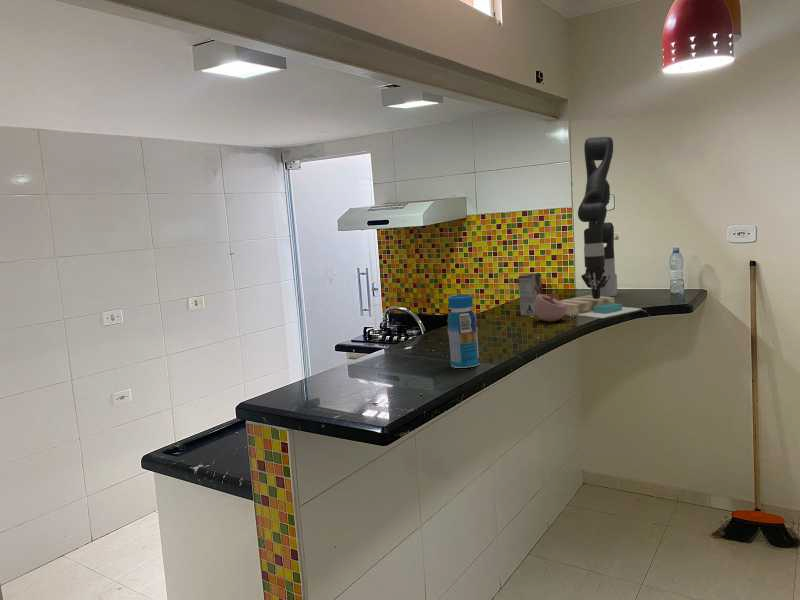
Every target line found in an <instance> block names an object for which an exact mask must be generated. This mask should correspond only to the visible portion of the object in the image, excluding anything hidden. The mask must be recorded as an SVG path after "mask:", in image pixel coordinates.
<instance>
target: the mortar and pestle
mask: <svg viewBox="0 0 800 600" xmlns="http://www.w3.org/2000/svg"><path fill="white" fill-rule="evenodd" d="M555 296H556V291H555V290H552V292H551V295H550V296H549V295H546V294H543V293H542V294H538V295H537V297H536V298H535V301H534V310H535V313H536V315H535V316H537V317H538V318H539V319H540V320H542V321H544V322H547V323H548V322H550V323H551V322H557V321H558V320H560V319H562V317H564V315H566V314H565V312H566V309H567V305H566V304H564V303H562V302H560V301H561V300H558V299H556V298H555Z"/></svg>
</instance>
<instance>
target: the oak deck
mask: <svg viewBox="0 0 800 600" xmlns="http://www.w3.org/2000/svg"><path fill="white" fill-rule="evenodd" d="M559 301H560V302H562V303H564V304H566V305H567V309H566V312H565V314H564V315H567V316H568V315H569V316H578V314H583V313H588V312H592V311H594V308H593V306H597V305H602V304H607V303H615V296H612V297H603V296H600V298H599V299H593V297H592V295H590V294H589V295H581V296H577V297H572V298H565V299H561V300H559Z"/></svg>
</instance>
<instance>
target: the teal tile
mask: <svg viewBox="0 0 800 600" xmlns="http://www.w3.org/2000/svg"><path fill="white" fill-rule="evenodd" d="M622 307H623V304H622V303H607V304H602V305H597V306H593V308H594V313H602V314H608V313H612V312H617V311H622Z"/></svg>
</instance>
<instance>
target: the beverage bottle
mask: <svg viewBox="0 0 800 600" xmlns="http://www.w3.org/2000/svg"><path fill="white" fill-rule="evenodd" d="M447 300H448V308H449V309H450V312H449V313H448V317H447V321H446V323H447V324H448V327H447V334H448V340H449V341H448V342H449V344H448V345H449V353H450V367H451V366H452V367H451V368H453V367H454V368H453V369H455V368H467V367H474V366H477V365H479V366H480V363H481V362H480V355H479V341H478V331H479V328H478V326H477V324H476V323H477V316H476V313H475V312H474V310H472V308H473V307H474V306H473V305H474V302H473V301H474V300H473V296H472V294H455V295H451V296H448V299H447ZM477 367H478V366H477Z"/></svg>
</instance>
